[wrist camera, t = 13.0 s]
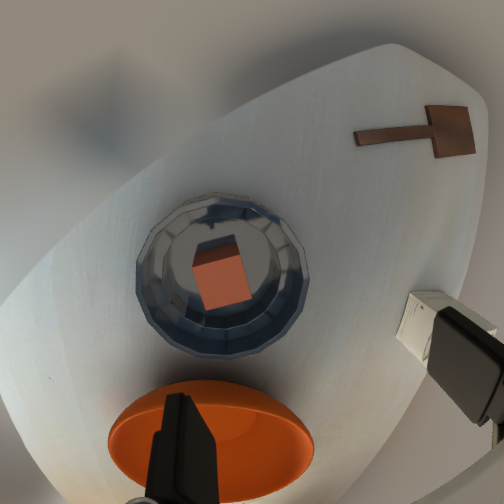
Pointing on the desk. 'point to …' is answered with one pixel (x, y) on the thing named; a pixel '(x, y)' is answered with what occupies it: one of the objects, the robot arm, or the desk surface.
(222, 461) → the bowl
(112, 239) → the desk surface
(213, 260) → the block
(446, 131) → the brown paddle
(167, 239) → the faceted gray tray
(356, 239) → the desk surface
